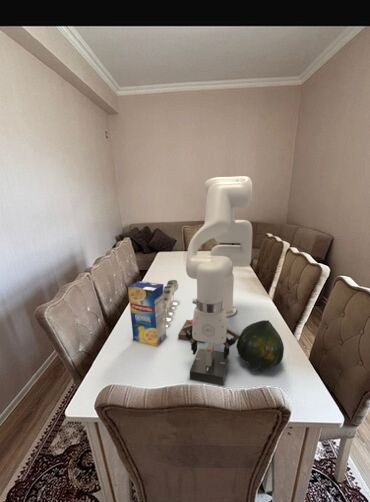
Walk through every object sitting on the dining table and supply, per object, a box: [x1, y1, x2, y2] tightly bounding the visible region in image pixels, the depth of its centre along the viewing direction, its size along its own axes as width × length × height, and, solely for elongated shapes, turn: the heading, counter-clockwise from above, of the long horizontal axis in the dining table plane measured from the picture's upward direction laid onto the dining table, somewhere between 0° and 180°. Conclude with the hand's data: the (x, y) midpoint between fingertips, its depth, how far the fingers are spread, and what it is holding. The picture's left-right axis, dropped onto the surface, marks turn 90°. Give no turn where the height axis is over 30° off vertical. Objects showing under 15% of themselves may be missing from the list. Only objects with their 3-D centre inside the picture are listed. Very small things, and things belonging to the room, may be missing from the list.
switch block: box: [177, 319, 205, 344], centre depth 100 cm, size 12×10×4 cm
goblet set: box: [163, 279, 179, 329], centre depth 115 cm, size 28×6×13 cm, turn 172°
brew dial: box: [206, 342, 215, 366], centre depth 78 cm, size 5×2×5 cm, turn 164°
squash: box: [235, 319, 285, 372], centre depth 80 cm, size 14×15×15 cm
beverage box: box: [127, 280, 167, 347], centre depth 94 cm, size 7×11×22 cm, turn 65°
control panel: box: [189, 347, 229, 386], centre depth 79 cm, size 12×10×3 cm
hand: (210, 354), depth 78 cm, fingers open, 9 cm apart
